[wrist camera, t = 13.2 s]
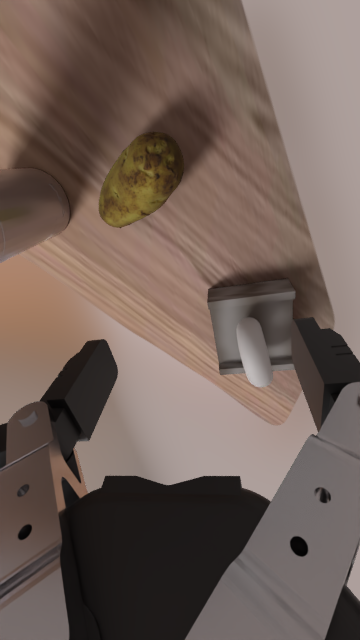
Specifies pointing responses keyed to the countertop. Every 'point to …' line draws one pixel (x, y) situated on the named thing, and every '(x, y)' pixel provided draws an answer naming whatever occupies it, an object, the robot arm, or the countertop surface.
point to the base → (261, 304)
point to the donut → (254, 352)
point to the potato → (141, 179)
